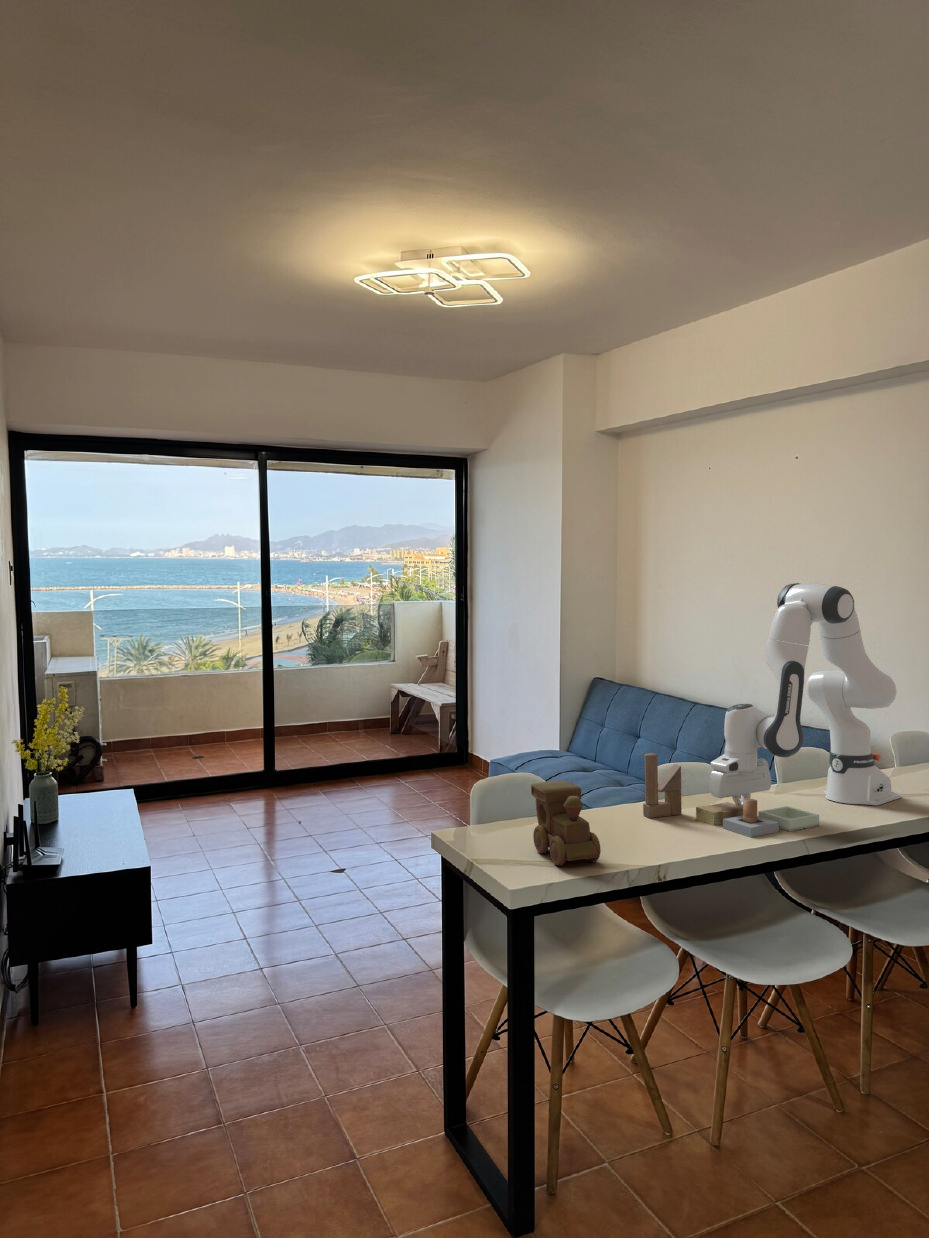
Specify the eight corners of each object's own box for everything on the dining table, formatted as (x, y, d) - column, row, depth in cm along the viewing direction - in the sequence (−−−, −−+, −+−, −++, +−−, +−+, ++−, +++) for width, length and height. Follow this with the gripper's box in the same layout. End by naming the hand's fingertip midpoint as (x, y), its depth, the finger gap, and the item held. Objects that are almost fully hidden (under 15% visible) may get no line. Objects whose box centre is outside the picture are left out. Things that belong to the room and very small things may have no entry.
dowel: (750, 827, 231) (750, 798, 231) (760, 830, 228) (760, 800, 227) (740, 829, 229) (740, 799, 229) (750, 832, 226) (750, 802, 226)
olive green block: (704, 817, 241) (704, 805, 241) (722, 823, 235) (721, 810, 235) (696, 819, 240) (696, 807, 240) (713, 825, 234) (713, 812, 234)
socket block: (750, 822, 235) (750, 813, 235) (778, 831, 226) (778, 822, 226) (723, 828, 231) (722, 818, 231) (750, 837, 222) (750, 827, 222)
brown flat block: (728, 814, 246) (727, 802, 246) (748, 820, 239) (748, 808, 238) (703, 818, 242) (703, 806, 242) (724, 824, 235) (723, 812, 234)
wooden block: (682, 814, 245) (681, 752, 245) (649, 818, 242) (648, 755, 241) (675, 811, 249) (674, 750, 248) (642, 815, 245) (641, 753, 245)
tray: (787, 816, 241) (787, 806, 241) (819, 825, 231) (819, 814, 231) (758, 822, 236) (758, 811, 236) (789, 831, 226) (789, 820, 226)
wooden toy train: (528, 847, 217) (527, 783, 217) (569, 843, 220) (568, 779, 220) (560, 871, 198) (559, 800, 197) (605, 866, 201) (603, 796, 201)
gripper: (759, 755, 250) (760, 802, 250) (705, 763, 241) (706, 811, 241) (776, 759, 244) (776, 806, 245) (721, 766, 235) (722, 816, 236)
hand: (741, 809), depth 243 cm, fingers closed
